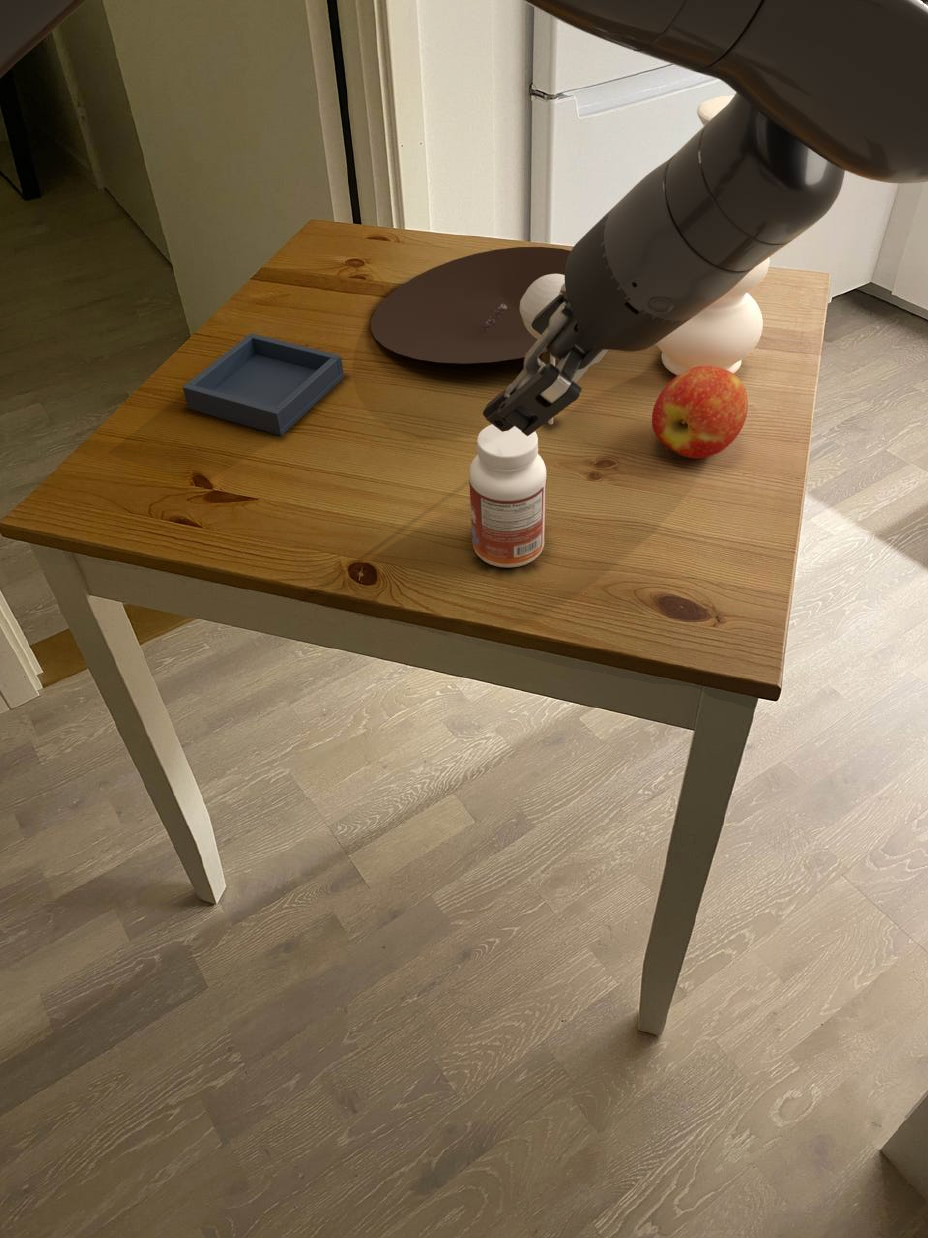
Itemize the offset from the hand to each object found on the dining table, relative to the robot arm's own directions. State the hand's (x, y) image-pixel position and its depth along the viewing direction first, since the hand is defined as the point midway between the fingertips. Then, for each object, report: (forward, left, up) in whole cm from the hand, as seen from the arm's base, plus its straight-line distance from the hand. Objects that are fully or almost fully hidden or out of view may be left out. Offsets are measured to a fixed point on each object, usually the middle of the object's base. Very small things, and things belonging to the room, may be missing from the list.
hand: (519, 374), depth 66 cm
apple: (+21, -9, -18) cm, 29 cm away
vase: (+35, -5, -18) cm, 39 cm away
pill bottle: (+1, +1, -18) cm, 18 cm away
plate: (+35, +19, -18) cm, 44 cm away
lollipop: (+19, +5, -18) cm, 26 cm away
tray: (+12, +34, -17) cm, 40 cm away
